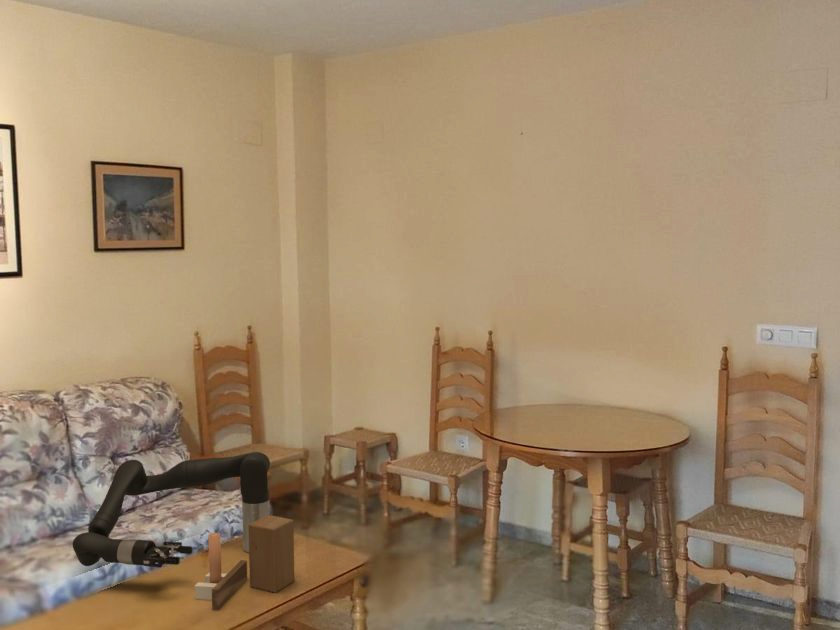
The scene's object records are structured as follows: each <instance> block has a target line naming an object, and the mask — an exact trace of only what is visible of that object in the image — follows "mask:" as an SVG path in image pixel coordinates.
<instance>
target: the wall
mask: <svg viewBox="0 0 840 630" xmlns="http://www.w3.org/2000/svg"><path fill="white" fill-rule="evenodd" d="M226 574H227V575H226V576H225V577H224V578H223V579H222V580H221V581H220V582H219V583H218V584H217V585H216V586H215V587H214V588H213V589H212V600H211V606H212V607H211V608H212V609H211V610H215V611H219V610H220V609H222V607H223V606H224V605H225V604H226V603H227V602H228V601H229V599H230V598H231V597H232V596H233V595H234V594H235V593H236V592H237V591H238V590H239V589H240V588H241V586H242V585H243V584H244V583H245V582H246V581H247V580H248V561H247V560H243V559H240V561H238V562H237V564H235V566H233V567H232V569H231V570H229V572H227V573H226ZM238 588H239V589H238ZM237 589H238V590H237ZM236 590H237V591H236ZM235 591H236V592H235Z"/></svg>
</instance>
